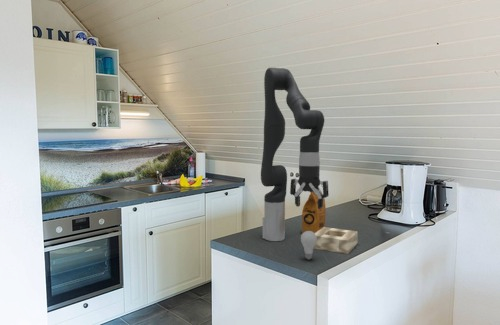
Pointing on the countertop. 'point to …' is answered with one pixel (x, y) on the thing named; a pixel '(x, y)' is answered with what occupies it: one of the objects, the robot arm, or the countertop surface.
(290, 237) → the countertop surface
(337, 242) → the block
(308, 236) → the lightbulb
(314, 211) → the coffee package
